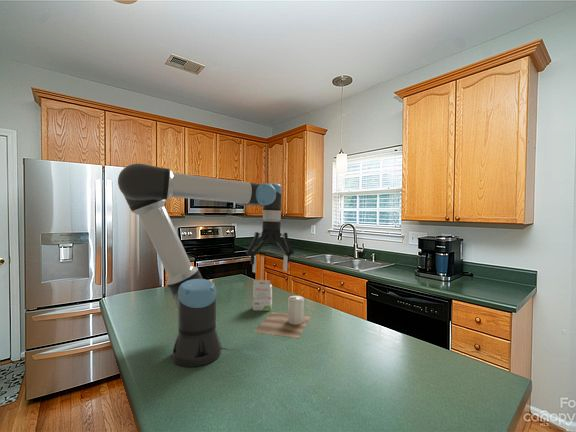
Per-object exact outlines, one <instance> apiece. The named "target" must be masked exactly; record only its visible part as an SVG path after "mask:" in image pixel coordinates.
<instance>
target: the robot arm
mask: <svg viewBox="0 0 576 432" xmlns="http://www.w3.org/2000/svg"><path fill="white" fill-rule="evenodd" d="M117 185H118V189H119V190H120V193H122V195H123V197H124V199H125V201H126V203H127V206H128V207H129V209H130V212H132V213H133V214H135V215H138V216H139V218H140V221H141V223H142V225H143V227H144V229H145V231H146V233H147V235H148V237H149V239H150V241H151V243H152V245H153V247H154V249H155V251H156V253H157V256H158V257H159V259H160V262H161V263H162V266H163V269H164V270H165V272H166V274H167V276H168V278H167V280H166V285H167V287H168V289H169V291H170V293H171V296H172V298H173V300H174V302H175V304H176V307H177V313H178V316H177V317H178V320H177V321H178V322H177V323H178V324H177V325H178V331H177V333H178V334H177V336H176V340H175V342H174V345H173V349H172V362H173V363H174V364H175V365H177V366H181V367H183V368H184V367H187V368H193V367H200V366H205V365H208V364H211V363H213V362H214V361H216V360H217V359H218V358H219V357H221V354H222V343H221V340H220V337H219V335H218V332H217V288H216V285H215V283H214V282H213V281H212V280H209V279H205V278H203V276H202V274H201V272H200V270H199V268H198V267H197V266H194V265H192V263H191V261H190V258H189V257H188V254H187V252H186V249H185V247H184V245H183V243H182V241H181V239H180V237H179V235H178V232H177V230H176V229H175V227H174V224H173V221H172V220H171V219H172V218H171V217H170V214H169V213H168V211H167V209H166V207H165V204H166V201H168V200H169V199H171V198H181V199H189V200H191V199H192V200H202V201H203V200H204V201H213V202H223V203H224V202H225V203H235V204H236V205H239V206H250V207H251V206H253V207H254V206H255V207H256V206H257V207H262V220H263V221H262V229H261V231H262V232H258V231H256V232H254V233H253V234H254V235H253V239H252V240H251V242H250V244H249V246H248V248H247V250H246V252H245V253H246V255H248V256H250V265H252V271H251V272H252V273H254V274H256V273H257V256H256V255H257V254H258V252H260V250H261V249H262V247H264V245H266V244H277V245H278V247H279V248H280V249H281V251H282V252H283V253H284V254H283V260H282V261H283V267H282V270H283V271H284V272H288V264H289V263H290V258H291V255H294V253H295V252H294V250H293V247H292V244H291V242H290V240H289V238H288V237H289V236H288V232H285V231H284V232H281V219H282V214H281V213H282V196H283V193H282V190H283V189H282V185H281V184H279V183H274V182H273V183H272V182H271V183H264V182H263V183H255V182H247V181H240V180H234V179H233V180H232V179H224V178H215V177H207V176H201V175H194V174H184V173H179V172H178V173H177V172H173V170H171V168H165V167H159V166H155V165H151V164H146V163H145V164H144V163H132V164H129V165H127V166H125V167H124V168H123V169H121V171H119V174H118V177H117ZM281 237H282V238H283V241H284V243H285V245H284V244H283V243H282V241H281V240H280V238H281ZM259 238H262V239H261V240H260V241H259V243H258V244H257V242H258V240H259ZM285 246H286V247H285Z"/></svg>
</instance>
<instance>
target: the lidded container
mask: <svg viewBox="0 0 576 432" xmlns="http://www.w3.org/2000/svg"><path fill="white" fill-rule="evenodd" d="M287 314H288V322H289V323H291V324H302V323H303V322H304V316H305V297H303V296H301V295H291V296H289V297H288V299H287Z"/></svg>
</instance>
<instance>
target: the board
mask: <svg viewBox="0 0 576 432" xmlns="http://www.w3.org/2000/svg"><path fill="white" fill-rule="evenodd" d="M311 317H312V316H309V315H304V322H303V323H302V324H291V323H289V322H288V313H284V312H283V313H282V312H277V311H276V312H275V311H272V312H271V313H270V314H269V315H268V316H267V317H266V318H265V319H264V320H263V321H262V322H261V323H260V324H259V325H258V326H257V327H256V328H255V329H254V330H253V333H258V334H266V335H273V336H281V337H285V338H286V337H287V338H295V339H299V338H300V336H301V335H302V333H303V331H304V330H305V328H306V326H308V325H307V324H308V323H309V321H310V319H311Z"/></svg>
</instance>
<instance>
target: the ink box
mask: <svg viewBox="0 0 576 432" xmlns="http://www.w3.org/2000/svg"><path fill="white" fill-rule="evenodd" d="M252 282H253V286H252V310H253V311H265V312H266V311H267V312H269V311H270V312H271V311H272V309H273V284H271V280H270V279H269V280H268V279H253V281H252Z"/></svg>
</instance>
